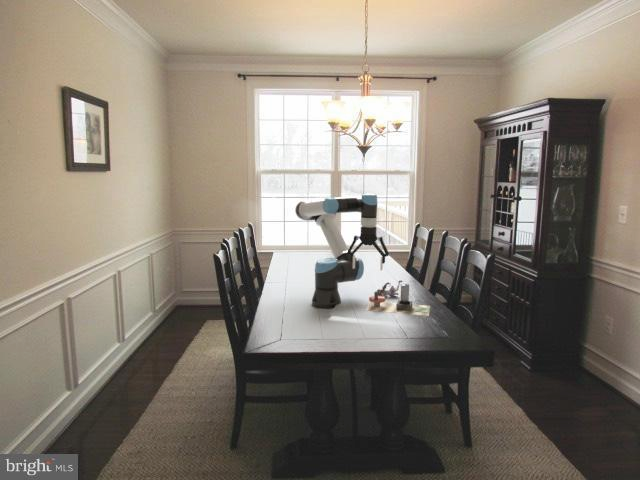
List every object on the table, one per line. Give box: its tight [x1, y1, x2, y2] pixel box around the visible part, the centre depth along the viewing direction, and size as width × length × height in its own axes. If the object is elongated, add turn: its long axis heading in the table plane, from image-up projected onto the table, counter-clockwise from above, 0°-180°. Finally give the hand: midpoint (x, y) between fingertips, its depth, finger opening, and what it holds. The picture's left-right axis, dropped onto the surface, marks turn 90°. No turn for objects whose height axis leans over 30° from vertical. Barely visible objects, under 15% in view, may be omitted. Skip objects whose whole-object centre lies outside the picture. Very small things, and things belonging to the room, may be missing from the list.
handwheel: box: [368, 290, 386, 307], centre depth 225 cm, size 8×8×8 cm
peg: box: [400, 283, 410, 305], centre depth 221 cm, size 4×4×12 cm
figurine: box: [376, 280, 403, 298], centre depth 242 cm, size 12×9×15 cm
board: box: [365, 299, 431, 317], centre depth 223 cm, size 30×16×4 cm, turn 73°
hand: (367, 269), depth 222 cm, fingers open, 13 cm apart
